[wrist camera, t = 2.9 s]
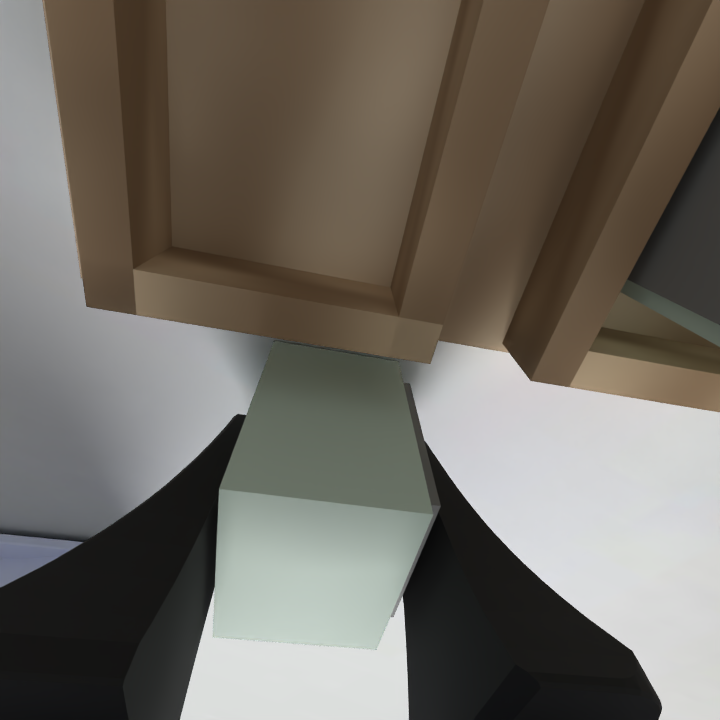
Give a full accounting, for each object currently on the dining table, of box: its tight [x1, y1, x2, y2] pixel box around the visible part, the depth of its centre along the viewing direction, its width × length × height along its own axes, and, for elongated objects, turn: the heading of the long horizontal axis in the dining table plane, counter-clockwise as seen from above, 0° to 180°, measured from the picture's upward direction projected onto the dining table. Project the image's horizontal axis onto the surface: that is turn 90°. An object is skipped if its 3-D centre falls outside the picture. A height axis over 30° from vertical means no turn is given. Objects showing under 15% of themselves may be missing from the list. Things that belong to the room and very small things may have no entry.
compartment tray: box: [42, 0, 720, 412], centre depth 8 cm, size 20×10×3 cm, turn 79°
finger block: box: [213, 341, 441, 650], centre depth 11 cm, size 4×5×6 cm
